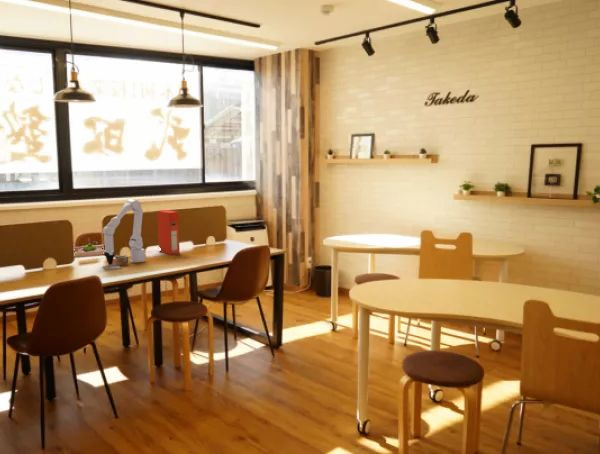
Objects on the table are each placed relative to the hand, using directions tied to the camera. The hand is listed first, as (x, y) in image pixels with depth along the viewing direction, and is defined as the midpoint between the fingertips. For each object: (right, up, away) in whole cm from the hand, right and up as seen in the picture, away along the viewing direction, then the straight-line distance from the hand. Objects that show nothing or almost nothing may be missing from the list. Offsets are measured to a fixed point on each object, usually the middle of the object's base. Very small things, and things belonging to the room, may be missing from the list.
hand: (109, 263), depth 367 cm
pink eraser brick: (+4, -1, +2) cm, 4 cm away
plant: (-30, +5, +44) cm, 53 cm away
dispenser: (+7, -1, +4) cm, 8 cm away
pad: (+4, -3, -7) cm, 9 cm away
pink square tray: (-30, +5, +44) cm, 53 cm away
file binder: (+29, +5, +47) cm, 56 cm away
